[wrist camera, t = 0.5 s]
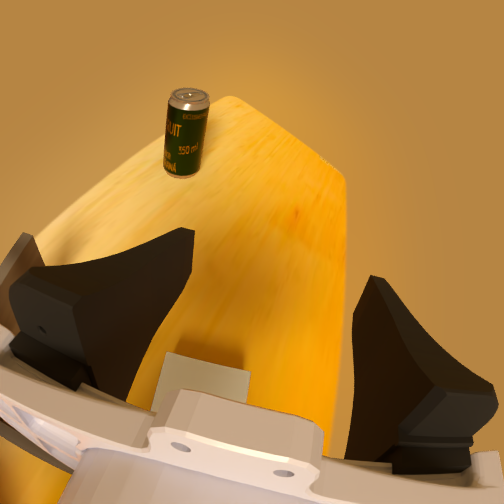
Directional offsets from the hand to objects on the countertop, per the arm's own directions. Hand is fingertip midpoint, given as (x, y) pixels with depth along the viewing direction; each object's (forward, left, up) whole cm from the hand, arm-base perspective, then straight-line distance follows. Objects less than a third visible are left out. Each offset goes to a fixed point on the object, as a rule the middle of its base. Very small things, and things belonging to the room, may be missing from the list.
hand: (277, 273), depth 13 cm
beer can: (+30, +12, -19) cm, 37 cm away
